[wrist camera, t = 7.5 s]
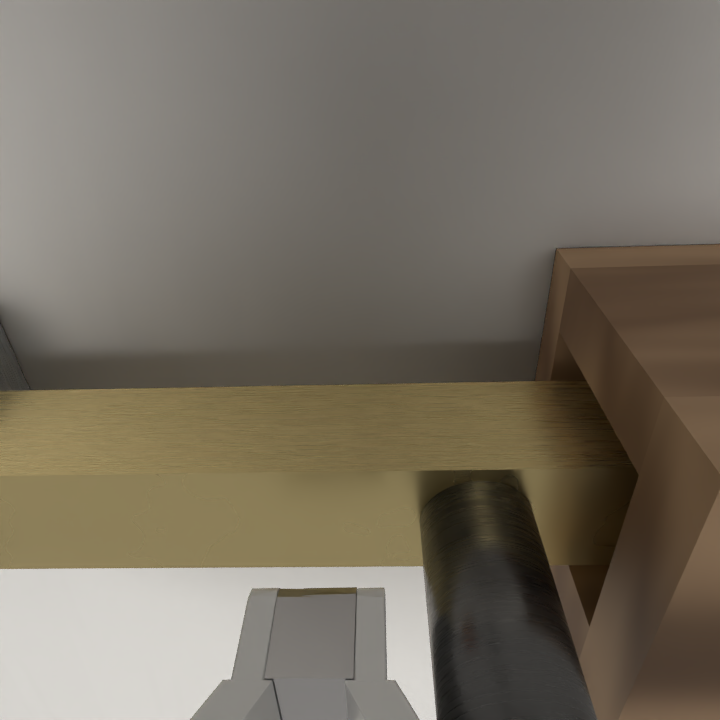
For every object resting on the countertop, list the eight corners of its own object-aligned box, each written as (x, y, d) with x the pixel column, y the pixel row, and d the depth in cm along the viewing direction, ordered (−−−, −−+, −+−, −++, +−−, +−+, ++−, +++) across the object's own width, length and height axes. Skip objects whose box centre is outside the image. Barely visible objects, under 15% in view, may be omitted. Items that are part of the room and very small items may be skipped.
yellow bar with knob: (-37, 391, 14) (-409, 750, 7) (777, 376, 13) (1184, 759, 7) (8, 477, 16) (-263, 834, 9) (736, 468, 15) (1028, 850, 8)
